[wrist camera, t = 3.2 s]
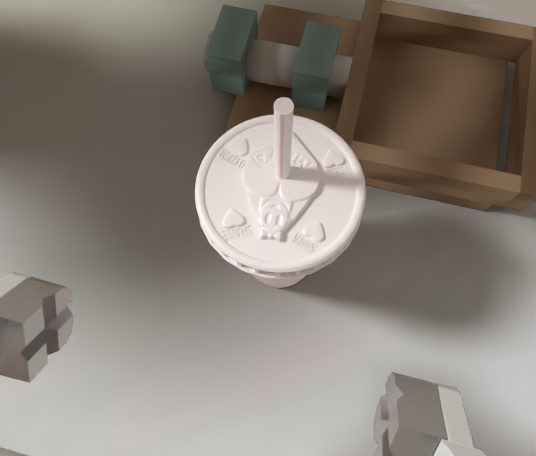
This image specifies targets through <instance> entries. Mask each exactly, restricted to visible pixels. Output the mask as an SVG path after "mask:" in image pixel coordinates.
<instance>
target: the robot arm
mask: <svg viewBox="0 0 536 456" xmlns="http://www.w3.org/2000/svg"><path fill="white" fill-rule="evenodd" d="M71 302H72V294H71V290H70V289H69V288H68V287H65V286H62V285H58V284H55V283H51V282H48V281H44V280H41V279H37V278H34V277H29V276H26V275H22V274H19V273H15V272H14V273H8V274H7V275H5V276H4V277H2V278H1V279H0V375H2V376H6V377H10V378H14V379H18V380H22V381H26V382H31V381H32V380H33V379H34V377H35V376H36V375H37V374H38V373H39V372H40V371H41V370H42V369H43V368H44V367H45V365H46V364H47V363H48V355H49V354H52V353H54V352H57V351H59V350H60V349H61V348H62V347H63V345H64V344H65V343H66V342H67V340H68V338H69V336H70V334H71V331H72V326H73V314H72V313H71V312H70V310H69V309H68V307H67V306H68V305H69V304H70V303H71ZM374 439H375V441H376V442H377V444H378V447H377V449H376V452H375V454H374V456H486V455H485V454H484V452H483V451H482V450H480V449H476V448H474V444H473V440H472V436H471V433H470V429H469V425H468V421H467V417H466V413H465V410H464V406H463V402H462V398H461V394H460V391H459V390H458V389H457V388H455V387H451V386H447V385H442V384H438V383H433V382H429V381H425V380H421V379H417V378H413V377H409V376H405V375H401V374H397V373H393V372H392V373H391V374H390V375H389V377H388V380H387V382H386V395H384V396H382V397H380V400H379V403H378V406H377V409H376V414H375V419H374ZM0 456H28V455H25V454H22V453H19V452H15V451H12V450H9V449H6V448H2V447H0Z"/></svg>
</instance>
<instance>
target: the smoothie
mask: <svg viewBox="0 0 536 456" xmlns="http://www.w3.org/2000/svg"><path fill="white" fill-rule="evenodd" d="M293 109H294V104H293V102H292V101H291V100H290V99H289V98H285V97H282V98H279V99H277V100H276V101H275V103H274V115H266V116H261V117H257V118H253V119H250V120H247V121H245V122H243V123H241V124H238V125H237V126H235V127H233V128H232V129H230V130H229V131H227V132H226V133H225V134H223V135H222V136H221V137H220V138H219V139H218V140H217V141H216V142H215V143H214V144H213V145H212V147H211V148H210V149H209V151H208V152H207V154H206V155H205V157H204V159H203V161H202V163H201V165H200V168H199V170H198V174H197V178H196V183H195V203H196V209H197V213H198V216H199V220H200V225H201V227H202V229H203V231H204V233H205V235H206V237H207V239H208V241H209V243H210V245H211V246H212V247H213V248H214V249H215V250H216V251H217V252H218V253H219V254H220V255H221V256H222V257H223V258H224V259H225V260H226V261H227V262H229V263H231V264H232V265H234V266H236V267H237V268H239V269H240V270H242V271H244V272H247V273H250V274H252V275H253V276H254V277H255V278H256V279H258V280H259V281H260V282H261V283H263V284H265V285H267V286H270V287H275V288H284V287H289V286H292V285H294V284H296V283H297V282H299V281H300V280H301V279H302V278H304V277H305V276H306V275H308V274H312V273H314V272H316V271H318V270H319V269H321V268H323V267H325V266H327V265H329V264H331V263H332V262H333V261H334V260H335V259H336V258H337V257H338V256H339V255H341V254H342V253H343V252H344V251H345V250H346V249H347V248H348V246H349V245H350V243H351V241H352V239H353V238H354V236H355V234H356V233H357V231H358V229H359V225H360V221H361V218H362V215H363V212H364V207H365V201H366V185H365V179H364V175H363V171H362V168H361V166H360V163H359V161H358V159H357V157H356V155H355V154H354V152H353V151H352V149H351V148H350V147H349V146H348V144H347V143H346V142H345V141H344V140H343V139H342V138H341V137H340V136H339V135H337V134H336V133H335V132H334V131H332V130H331V129H329V128H328V127H326V126H324V125H322V124H320V123H318V122H316V121H313V120H311V119H308V118H304V117H300V116H295V115H293Z"/></svg>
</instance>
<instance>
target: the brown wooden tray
mask: <svg viewBox="0 0 536 456" xmlns="http://www.w3.org/2000/svg"><path fill="white" fill-rule="evenodd" d="M507 61H508V62H513V63H515V73H514V83H513V94H512V104H511V115H510V125H509V136H508V146H507V157H506V167H505V172H501V171H496V167H497V157H498V148H499V138H500V128H501V118H502V108H503V99H504V89H505V79H506V69H507ZM205 67H206V70H207V72H210V77H211V81H212V85H213V90H218V91H223V92H228V93H233V94H236V97H235V100H234V104H233V107H232V110H231V113H230V116H229V119H228V122H227V125H226V128H225V132H224V134H225V133H226V132H227V131H229V130H230V129H232V128H233V127H235V126H237V125H238V124H241V123H243V122H245V121H247V120H250V119H253V118H257V117H261V116H266V115H274V103H275V101H276V100H277V99H279V98H282V97H285V98H289V99H290V100H291V101H292V102H293V104H294V109H293V115H295V116H300V117H304V118H308V119H311V120H313V121H316V122H318V123H320V124H322V125H324V126H326V127H328V128H329V129H331V130H332V131H334V132H335V133H336V134H337V135H339V136H340V137H341V138H342V139H343V140H344V141H345V142H346V143H347V144H348V146H349V147H350V148H351V149H352V151H353V152H354V154H355V155H356V157H357V159H358V161H359V163H360V166H361V168H362V171H363V175H364V179H365V185H367V186H372V187H377V188H381V189H386V190H390V191H395V192H399V193H404V194H409V195H413V196H418V197H422V198H427V199H431V200H436V201H440V202H445V203H450V204H454V205H459V206H463V207H468V208H472V209H477V210H482V211H486V210H487V209H488V208H489V207H491V206H492V205H495V206H500V207H505V208H509V209H514V210H518V211H520V210H522V209H523V208H525V207H526V206H528V205H529V204H531V203H532V202H534V201H535V200H536V27H532V26H527V25H521V24H516V23H510V22H504V21H499V20H493V19H487V18H482V17H476V16H470V15H465V14H459V13H453V12H448V11H442V10H437V9H431V8H425V7H420V6H414V5H408V4H403V3H397V2H391V1H386V0H366V3H365V7H364V12H363V16H362V20H361V22H360V21H354V20H349V19H343V18H338V17H332V16H327V15H322V14H316V13H311V12H305V11H300V10H294V9H289V8H283V7H278V6H272V5H267V4H265V7H264V10H263V13H262V17H261V20H260V23H259V26H258V27H257V11H254V10H249V9H243V8H238V7H232V6H227V5H223V7H222V10H221V13H220V16H219V18H218V21H217V24H216V27H215V29H214V31H212V32H211V33H210V35H209V37H208V40H207V44H206V50H205Z"/></svg>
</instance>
